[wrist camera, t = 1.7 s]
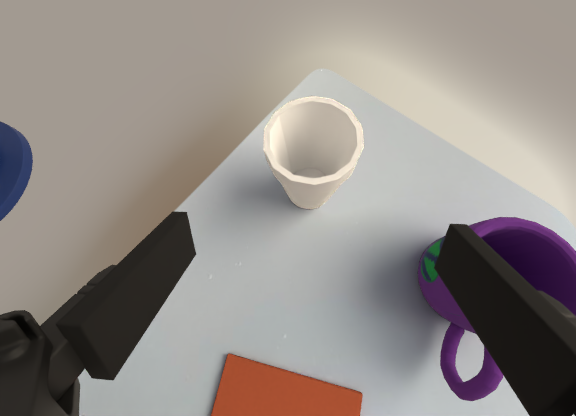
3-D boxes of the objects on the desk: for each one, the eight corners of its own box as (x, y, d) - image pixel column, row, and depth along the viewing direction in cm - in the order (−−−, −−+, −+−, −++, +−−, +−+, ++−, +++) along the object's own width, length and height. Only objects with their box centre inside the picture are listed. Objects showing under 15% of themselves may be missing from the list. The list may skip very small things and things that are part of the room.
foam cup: (325, 231, 33) (339, 201, 21) (265, 204, 35) (245, 161, 22) (351, 173, 36) (378, 114, 23) (294, 150, 37) (290, 84, 25)
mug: (423, 221, 33) (473, 196, 23) (513, 256, 31) (607, 245, 21) (382, 352, 29) (422, 387, 19) (482, 402, 27) (582, 469, 17)
